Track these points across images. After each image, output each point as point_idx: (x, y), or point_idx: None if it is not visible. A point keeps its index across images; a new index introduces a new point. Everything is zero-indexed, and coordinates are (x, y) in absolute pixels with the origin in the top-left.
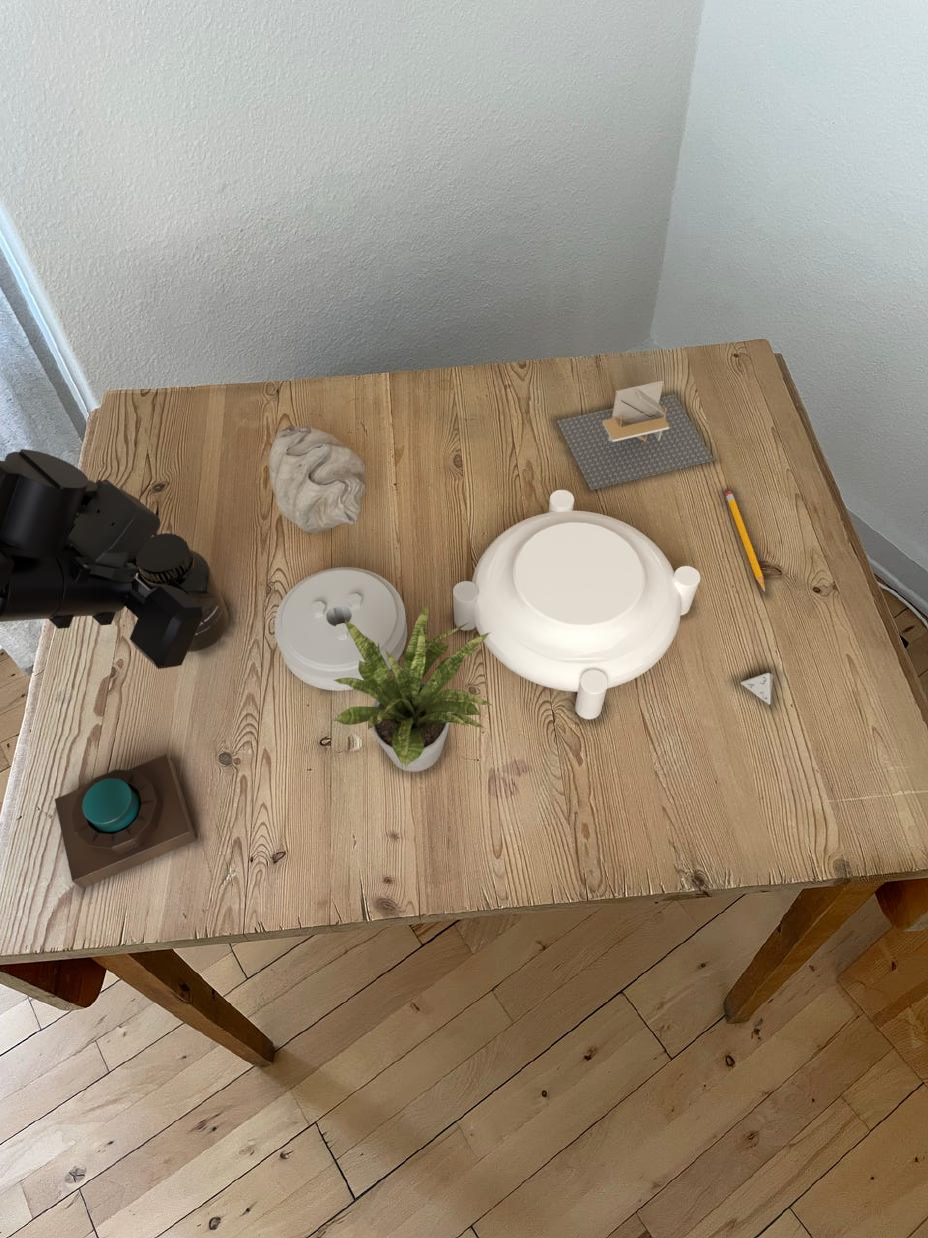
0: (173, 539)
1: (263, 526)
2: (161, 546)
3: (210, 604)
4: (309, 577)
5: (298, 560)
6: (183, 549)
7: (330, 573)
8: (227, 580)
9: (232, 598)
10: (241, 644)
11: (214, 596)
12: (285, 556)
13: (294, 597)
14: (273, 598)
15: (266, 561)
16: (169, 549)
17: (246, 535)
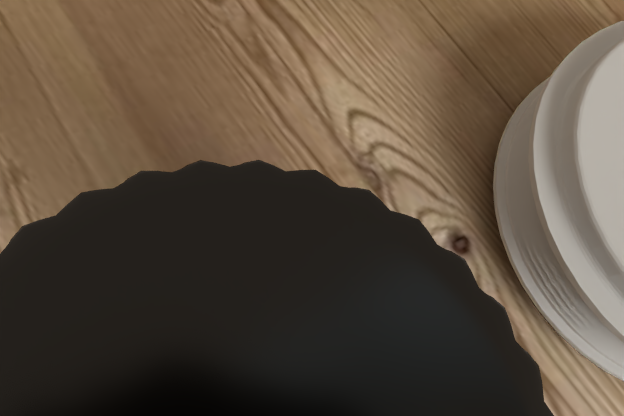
0: (231, 233)
1: (230, 20)
2: (152, 400)
3: None
4: (548, 96)
5: (380, 70)
6: (433, 297)
7: (619, 57)
8: None
9: None
10: None
11: None
12: (342, 73)
13: (599, 181)
14: (401, 196)
15: (307, 105)
16: (283, 386)
17: (204, 59)
